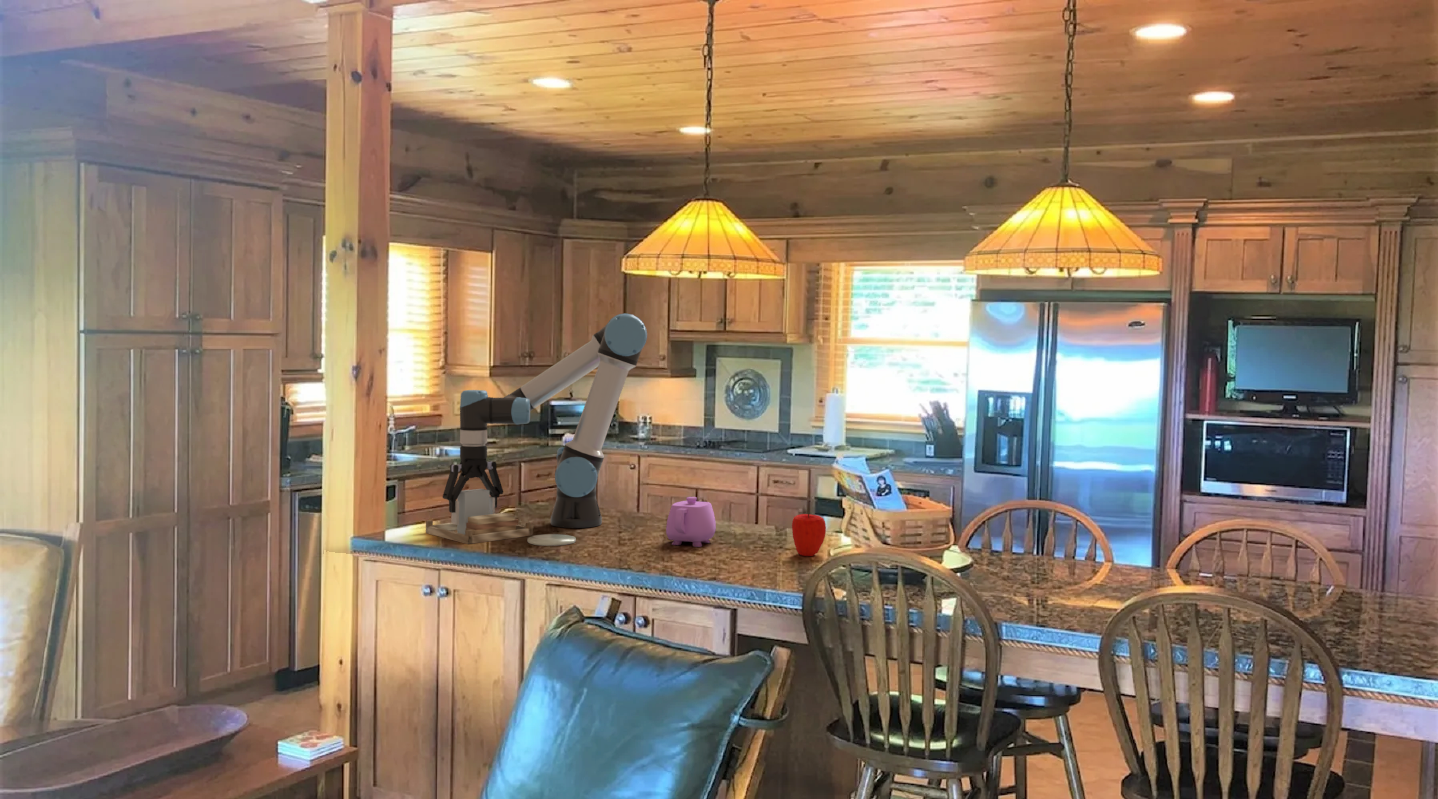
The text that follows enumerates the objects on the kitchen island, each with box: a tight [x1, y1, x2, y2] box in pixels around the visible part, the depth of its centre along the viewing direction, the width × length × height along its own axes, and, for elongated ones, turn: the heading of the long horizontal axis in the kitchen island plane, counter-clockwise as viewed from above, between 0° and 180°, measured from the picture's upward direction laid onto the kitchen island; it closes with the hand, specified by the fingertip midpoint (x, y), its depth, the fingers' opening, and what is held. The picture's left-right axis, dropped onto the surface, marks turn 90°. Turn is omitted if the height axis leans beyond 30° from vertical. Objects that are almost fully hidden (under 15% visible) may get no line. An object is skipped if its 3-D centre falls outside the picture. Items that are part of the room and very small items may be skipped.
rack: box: [425, 519, 534, 545], centre depth 324 cm, size 21×22×4 cm
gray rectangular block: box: [456, 488, 490, 535], centre depth 326 cm, size 8×4×12 cm, turn 134°
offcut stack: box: [466, 512, 519, 535], centre depth 319 cm, size 14×5×6 cm, turn 134°
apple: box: [791, 513, 827, 557], centre depth 301 cm, size 9×9×11 cm
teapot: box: [665, 496, 717, 548], centre depth 315 cm, size 20×12×13 cm, turn 160°
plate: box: [527, 533, 577, 547], centre depth 314 cm, size 13×13×1 cm
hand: (473, 521), depth 326 cm, fingers open, 11 cm apart
